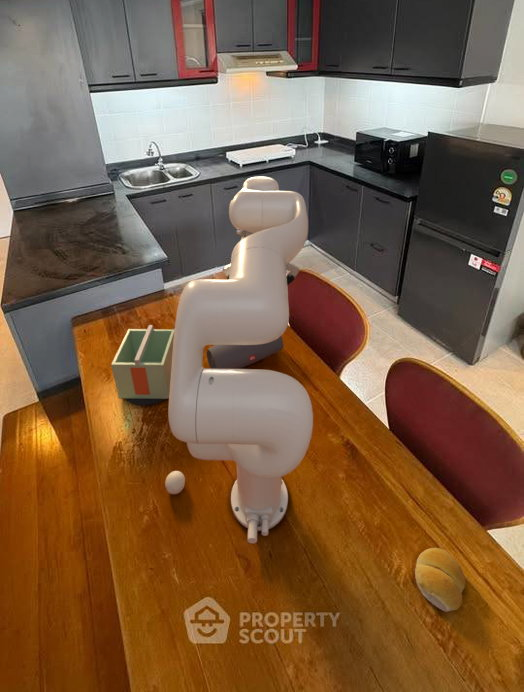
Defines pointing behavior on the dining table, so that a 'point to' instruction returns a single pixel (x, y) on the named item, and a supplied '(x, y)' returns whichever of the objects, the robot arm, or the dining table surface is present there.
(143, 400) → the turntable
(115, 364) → the bin
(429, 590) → the bread roll
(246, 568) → the dining table surface
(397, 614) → the dining table surface
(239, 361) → the bluetooth speaker
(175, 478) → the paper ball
